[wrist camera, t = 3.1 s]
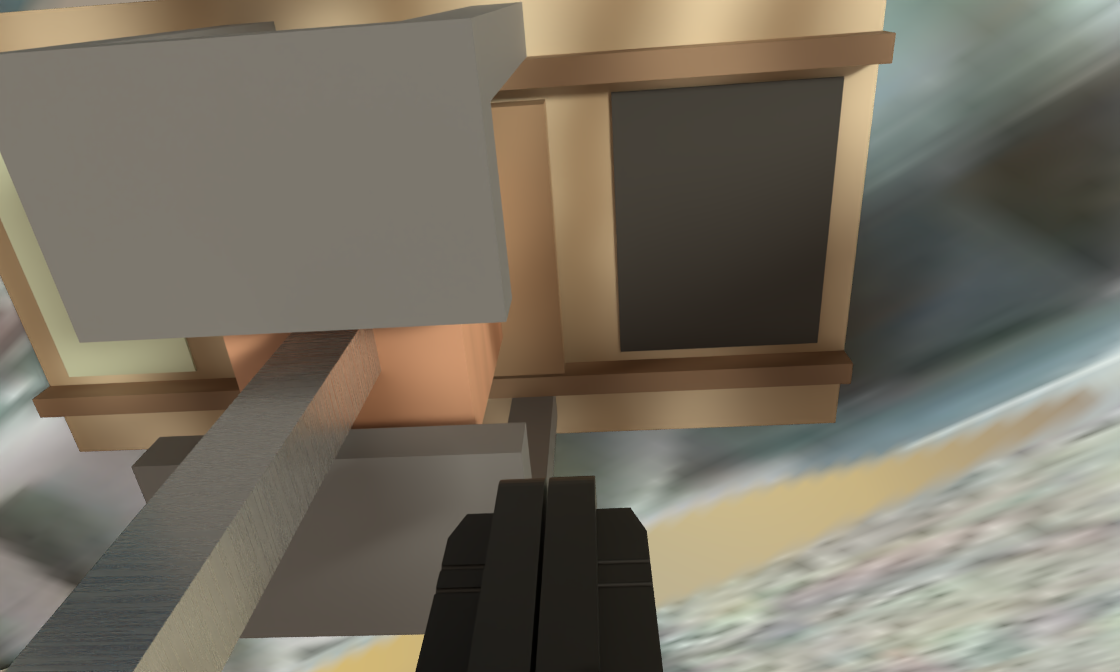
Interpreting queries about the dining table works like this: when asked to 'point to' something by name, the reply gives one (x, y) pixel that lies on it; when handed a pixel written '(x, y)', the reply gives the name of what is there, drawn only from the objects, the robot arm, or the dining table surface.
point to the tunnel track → (430, 233)
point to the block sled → (303, 447)
